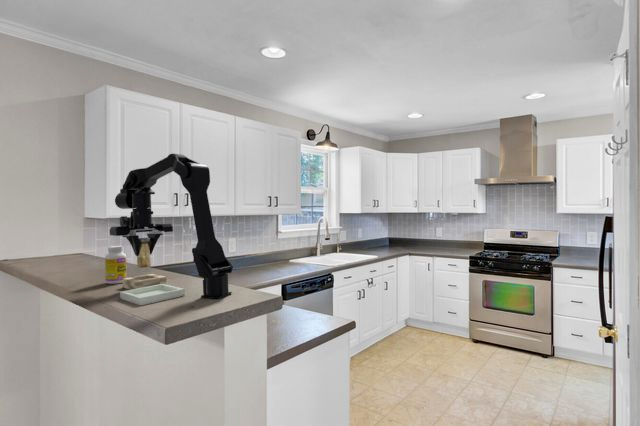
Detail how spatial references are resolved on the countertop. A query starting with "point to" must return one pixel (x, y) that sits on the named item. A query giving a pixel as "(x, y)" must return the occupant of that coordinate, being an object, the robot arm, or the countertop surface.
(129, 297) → the tray
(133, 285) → the wooden square frame
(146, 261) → the spice jar
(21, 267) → the countertop surface
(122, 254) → the supplement bottle
